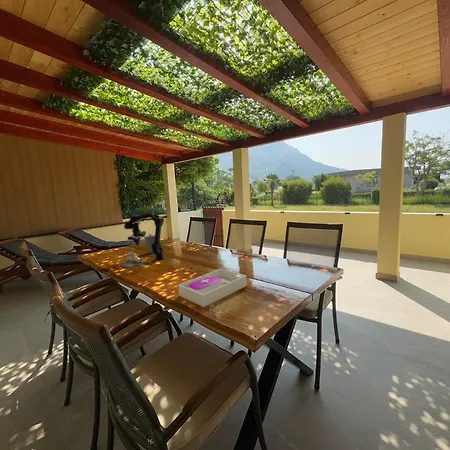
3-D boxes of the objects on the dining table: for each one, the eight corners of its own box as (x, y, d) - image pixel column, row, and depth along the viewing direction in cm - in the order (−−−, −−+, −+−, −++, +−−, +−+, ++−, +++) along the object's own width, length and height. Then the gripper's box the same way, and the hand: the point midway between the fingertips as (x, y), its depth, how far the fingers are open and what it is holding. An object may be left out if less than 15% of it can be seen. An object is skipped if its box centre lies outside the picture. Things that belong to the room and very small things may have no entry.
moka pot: (144, 252, 249) (142, 233, 246) (159, 250, 255) (158, 232, 252) (146, 254, 240) (144, 235, 237) (161, 252, 247) (159, 233, 244)
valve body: (142, 262, 208) (141, 255, 207) (137, 264, 204) (136, 256, 203) (130, 259, 219) (130, 252, 218) (125, 261, 215) (124, 254, 214)
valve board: (146, 262, 211) (145, 261, 211) (129, 268, 198) (129, 266, 198) (134, 260, 222) (134, 258, 221) (118, 265, 209) (117, 263, 209)
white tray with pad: (246, 286, 149) (246, 275, 148) (204, 307, 124) (203, 294, 123) (221, 278, 164) (220, 268, 163) (179, 296, 140) (178, 284, 139)
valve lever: (135, 254, 211) (134, 252, 210) (132, 255, 209) (132, 252, 208) (126, 252, 218) (126, 250, 218) (124, 253, 216) (124, 251, 216)
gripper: (137, 230, 210) (139, 248, 213) (149, 227, 228) (150, 243, 230) (126, 230, 213) (128, 247, 216) (138, 227, 231) (140, 243, 233)
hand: (137, 245), depth 224 cm, fingers closed
